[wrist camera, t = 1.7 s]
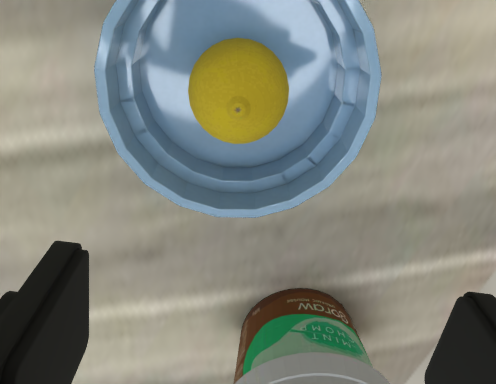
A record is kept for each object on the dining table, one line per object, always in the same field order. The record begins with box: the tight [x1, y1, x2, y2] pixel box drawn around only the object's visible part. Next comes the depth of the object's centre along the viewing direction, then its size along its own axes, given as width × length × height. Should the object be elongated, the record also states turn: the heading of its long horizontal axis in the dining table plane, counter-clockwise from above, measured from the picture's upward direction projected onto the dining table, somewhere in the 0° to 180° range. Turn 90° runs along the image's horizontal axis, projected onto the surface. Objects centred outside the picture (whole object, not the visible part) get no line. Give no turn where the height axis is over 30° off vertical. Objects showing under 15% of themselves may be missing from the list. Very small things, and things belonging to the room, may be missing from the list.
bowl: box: [94, 0, 381, 218], centre depth 27 cm, size 15×15×5 cm
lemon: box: [188, 38, 289, 144], centre depth 25 cm, size 6×6×8 cm
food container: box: [234, 288, 390, 384], centre depth 33 cm, size 12×6×10 cm, turn 82°
